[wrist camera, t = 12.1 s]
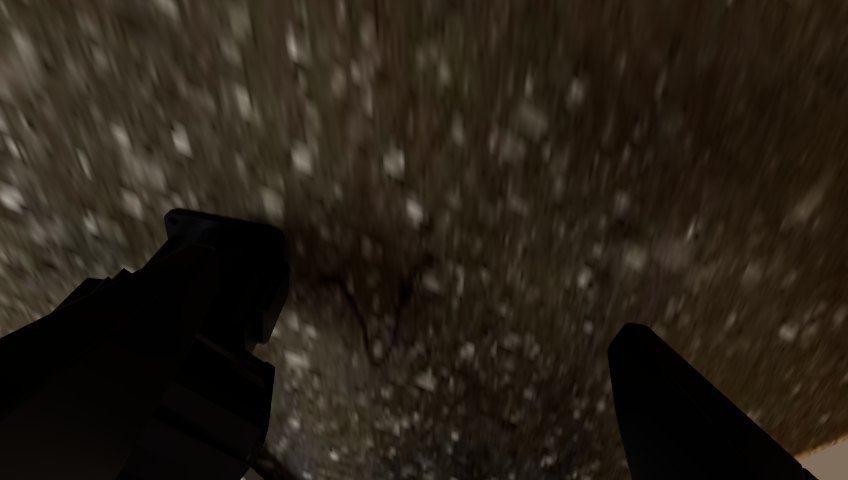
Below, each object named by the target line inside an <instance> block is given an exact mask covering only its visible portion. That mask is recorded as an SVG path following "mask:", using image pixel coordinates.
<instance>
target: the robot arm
mask: <svg viewBox="0 0 848 480" xmlns="http://www.w3.org/2000/svg"><path fill="white" fill-rule="evenodd" d="M173 217H174V218H176V219H177V220H175V219H174V218H173ZM164 220H165V226H166V231H167V236H168V240H167V241H166V242H165V243H164V245H163V246H162V247H161V248H160V249H159V250H158V251H157V252H156V254H155V255H154V256H153V257H152V258H151V259H150V260H149V261H148V263H147V264H146V265H145V266H144V267H143V268H142V269H140V270H138V271H136V272H134V273H131V272H129V271H128V270H126V269H125V268H123V269H122V270H121V271H120V272H119V273H118V274H117V275H116V276H114V277H113V278H112V279H111V278H109V277H107V278H105V279H104V280H103V279H94V278H87V279H86V280H84V281H83V282H82V283H81V284H80V285H79V286H78V287H77V288H76V289H75V290H74V291H73V292H72V293H71V294H70V295H69V296H68V297H67V298H66V299H65V300H64V301H63V302H62V303H61V304H60V305H59V306H58V307H57V308H56V309H55V310H54V311H53V312H52V313H50V314H48V315H46V316H44V317H42V318H40V319H38V320H36V321H34V322H32V323H30V324H28V325H26V326H24V327H22V328H20V329H18V330H16V331H14V332H12V333H10V334H8V335H6V336H4V337H2V338H0V480H241V479H242V478H243V476H244V475H245V474H246V473H247V471H248V470H249V468H250V467H251V466H252V464H253V463H254V461H255V459H256V458H257V456H258V454H259V452H260V450H261V448H262V446H263V444H264V441H265V438H266V435H267V431H268V426H269V418H270V410H271V401H272V392H273V384H274V375H275V367H274V366H273V365H271V364H270V363H268V362H263V361H262V360H260V359H259V358H257V357H256V356H254V355H253V354H252V353H253V351H254V349H255V346H256V344H265V343H267V342H268V341H269V339H270V337H271V334H272V332H273V329H274V327H275V325H276V322H277V320H278V318H279V315H280V313H281V311H282V308H283V306H284V303H285V301H286V299H287V296H288V293H289V265H288V263H287V262H284V246H285V236H284V233H283V232H282V231H281V230H279V229H277V228H272V227H267V226H261V225H256V224H251V223H245V222H240V221H235V220H229V219H224V218H219V217H213V216H208V215H203V214H197V213H192V212H187V211H181V210H175V209H172V210H170V211H169V212H168V213H167V214H166V215H165V216H164ZM272 236H276V237H277V238H278V239H275V238H273V237H272ZM608 362H609V369H610V376H611V383H612V390H613V397H614V404H615V411H616V416H617V421H618V426H619V430H620V434H621V438H622V442H623V446H624V450H625V454H626V458H627V462H628V466H629V470H630V474H631V478H632V480H818V479H817V478H816V477H815V476H814V475H812V474H811V473H810V472H809V471H808V470H807V469H805V468H802V465H801V464H800V463H799V462H798V461H797V460H796V459H795V458H793V457H792V456H791V455H790V454H789V453H788V452H787V451H786V450H785V449H783V448H782V447H781V446H780V445H779V444H778V443H777V442H776V441H775V440H773V439H772V438H771V437H770V436H769V435H768V434H767V433H766V432H765V431H763V430H762V429H761V428H760V427H759V426H758V425H757V424H756V423H754V422H753V421H752V420H751V419H750V418H749V417H748V416H747V415H746V414H744V413H743V412H742V411H741V410H740V409H739V408H738V407H737V406H736V405H734V404H733V403H732V402H731V401H730V400H729V399H728V398H727V397H726V396H724V395H723V394H722V393H721V392H720V391H719V390H718V389H717V388H715V387H714V386H713V385H712V384H711V383H710V382H709V381H708V380H707V379H705V378H704V377H703V376H702V375H701V374H700V373H699V372H698V371H697V370H695V369H694V368H693V367H692V366H691V365H690V364H689V363H688V362H687V361H685V360H684V359H683V358H682V357H681V356H680V355H679V354H678V353H677V352H675V351H674V350H673V349H672V348H671V347H670V346H669V345H668V344H667V343H665V342H664V341H663V340H662V339H661V338H660V337H659V336H658V335H656V334H655V333H654V332H653V331H652V330H651V329H650V328H649V327H647V326H645V325H642V324H636V323H626V324H625V325H624V326H623V327H622V328H621V330H620V331H619V332H618V334H617V335H616V337H615V338H614V339H613V341H612V342H611V344H610V345H609V348H608Z"/></svg>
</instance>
